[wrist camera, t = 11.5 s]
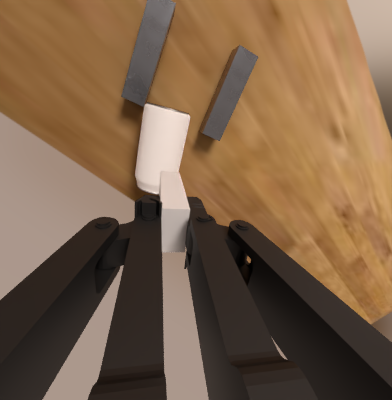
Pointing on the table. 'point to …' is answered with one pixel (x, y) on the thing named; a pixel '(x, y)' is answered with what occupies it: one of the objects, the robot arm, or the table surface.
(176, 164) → the can
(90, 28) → the table surface
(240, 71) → the slot guide
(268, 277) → the robot arm
